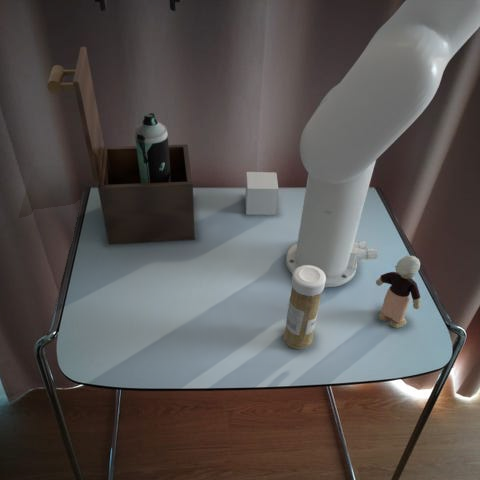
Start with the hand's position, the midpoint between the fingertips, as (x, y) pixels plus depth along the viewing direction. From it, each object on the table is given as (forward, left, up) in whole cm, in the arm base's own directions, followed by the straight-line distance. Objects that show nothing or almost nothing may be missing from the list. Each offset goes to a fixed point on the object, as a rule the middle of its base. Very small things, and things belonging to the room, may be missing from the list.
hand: (138, 8), depth 70 cm
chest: (+2, 0, -36) cm, 36 cm away
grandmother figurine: (-36, +30, -36) cm, 60 cm away
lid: (+9, 0, -16) cm, 18 cm away
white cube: (-20, -3, -36) cm, 42 cm away
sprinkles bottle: (-20, +33, -36) cm, 53 cm away
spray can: (0, 0, -36) cm, 36 cm away
